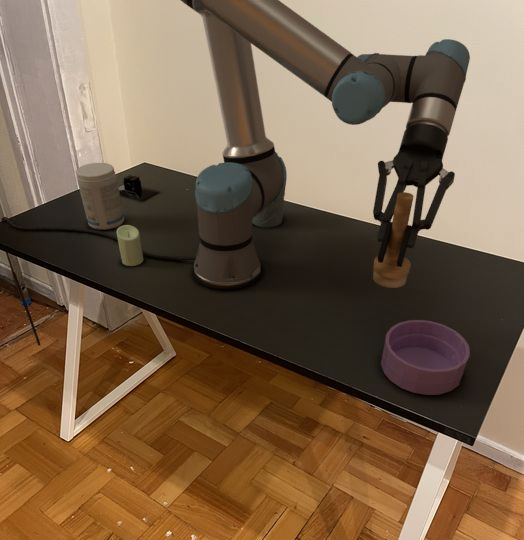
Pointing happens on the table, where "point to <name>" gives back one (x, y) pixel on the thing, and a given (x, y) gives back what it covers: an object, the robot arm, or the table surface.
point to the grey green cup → (271, 213)
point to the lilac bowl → (424, 357)
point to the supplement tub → (100, 195)
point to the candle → (129, 245)
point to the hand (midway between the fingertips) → (389, 262)
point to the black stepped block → (134, 189)
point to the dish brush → (395, 247)
